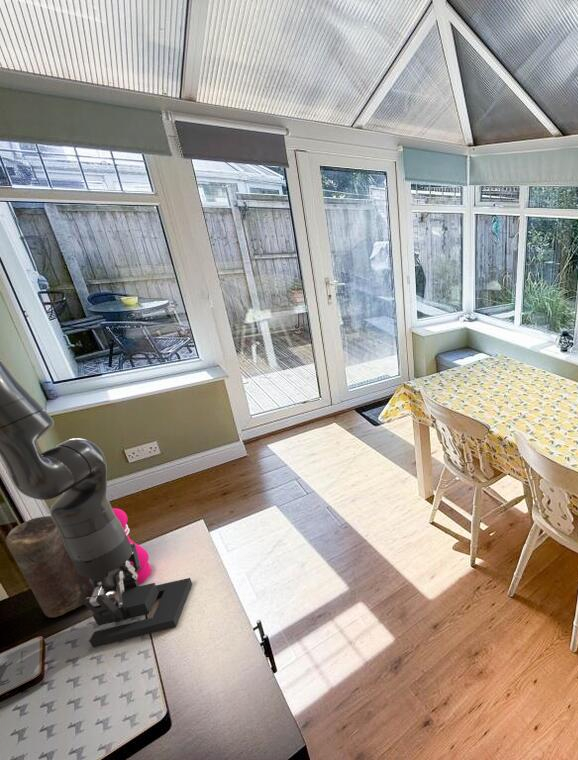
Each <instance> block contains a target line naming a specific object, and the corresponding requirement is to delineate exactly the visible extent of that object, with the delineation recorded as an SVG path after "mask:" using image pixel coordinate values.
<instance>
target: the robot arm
mask: <svg viewBox="0 0 578 760" xmlns="http://www.w3.org/2000/svg"><path fill="white" fill-rule="evenodd" d="M54 426H55V420H54V419H53V418H52V416H51V415H50V414H49V413H48V412H47V411H46V410H45V409H44V407H43V406H41V404H40V403H38V401H37V400H36V399H35V398H34V397H33V396H32V395H31V394H30V393H29V392H28V391H27V390H26V389H25V387H23V386H22V384H20V382H19V381H18V380H17V379H16V377H14V375H13V374H12V373H11V372H10V370H9V369H8V368H7V367H6V365H5V364H4V363H3V361H2V359H0V459H1V462H2V463H3V465H4V467H5V470H6V472H7V474H8V476H9V479H10V481H11V482H12V484H13V486H14V487H15V489H17V491H18V492H19V493H21V494H22V495H24V496H25V497H28V498H32V499H33V500H41V501H44V500H45V501H47V500H52V499H55V498H57V497H58V499H56V500H55V501H54V503H53V504H52V505H51V507H50V509H49V514H50V515H49V516H51V517H52V520H53V521H54V523H55V525H56V527H57V529H58V531H59V533H60V535H61V537H62V541H63V544H64V547H65V549H66V551H67V553H68V554H69V556H70V558H71V560H72V562H73V564H74V566H75V568H76V570H77V572H78V573H79V574H80V575H81V576H83V577H87V578H89V579H90V581H91V584H92V587H93V589H94V590H93V593H92V595H91V597H88V598H86V599H85V601H84V604H83V605H84V606H86V608H87V609H89V611H91V612H92V614H95V615H96V616H97V617H103V616H106V615H110V616H111V618H112V619H113V621H114V622H113V623H118V622H123V621H127V620H129V619H128V618H129V613H128V611H127V609H126V606H125V604H124V603H123V599H122V594H123V593H124V589H129V588H133V587H137V586H140V584H138V582H137V580H136V579H137V577H138V575H137V573H136V571H138V570H140V563H139V558H138V554H137V550H136V546H135V542H134V543H132V544H130V542H129V540H128V538H127V536H126V533H125V531H124V529H123V527H122V524H121V522H120V521H119V519H118V518H117V517H116V515H115V513H114V511H113V509H112V508H113V507H112V505H111V502H110V500H109V498H108V467H107V460H106V457H105V454H104V452H103V451H102V449H101V448H100V447H99V446H98V445H97V444H95V443H94V442H92V441H91V440H88V439H85V438H69V439H68V440H64V441H62V442H60V443H59V444H56V445H54V446H52V447H50V448H49V449H46V450H45V451H42V452H41V453H40V451H39V447H38V441H39V439H40V438H42V437H43V436H44V435H45V434H47V433H48V432H50V431H51V430H52V429H53V428H54ZM130 562H133V565H131V564H130ZM110 598H115V600H116V602H112V601H111V600H110Z"/></svg>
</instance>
